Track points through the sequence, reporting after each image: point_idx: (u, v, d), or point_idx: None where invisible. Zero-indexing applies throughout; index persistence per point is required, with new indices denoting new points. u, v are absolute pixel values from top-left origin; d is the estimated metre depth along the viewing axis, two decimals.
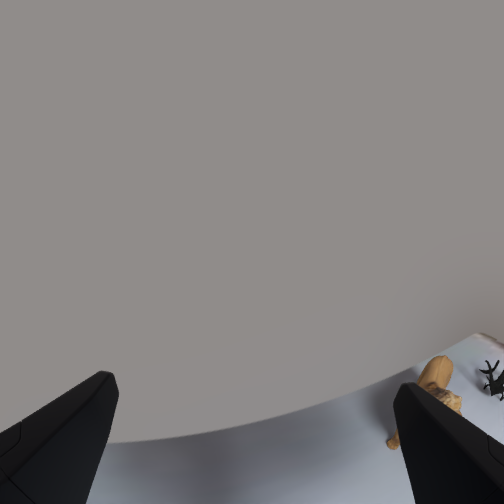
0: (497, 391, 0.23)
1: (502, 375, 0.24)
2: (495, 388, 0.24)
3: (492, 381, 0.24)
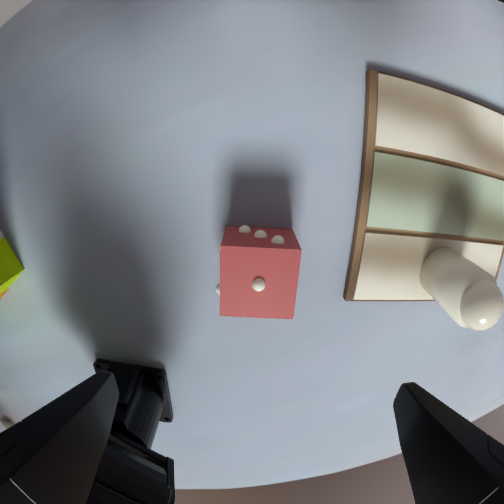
0: None
1: None
2: None
3: None
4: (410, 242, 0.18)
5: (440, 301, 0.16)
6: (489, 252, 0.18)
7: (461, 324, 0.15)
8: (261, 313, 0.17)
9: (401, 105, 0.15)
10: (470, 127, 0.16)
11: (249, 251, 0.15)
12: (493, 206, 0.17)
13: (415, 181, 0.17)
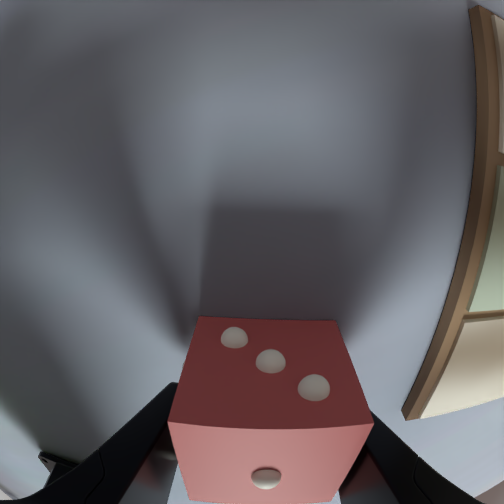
0: None
1: None
2: None
3: None
4: None
5: None
6: None
7: None
8: (270, 501, 0.06)
9: None
10: None
11: (243, 435, 0.05)
12: None
13: None
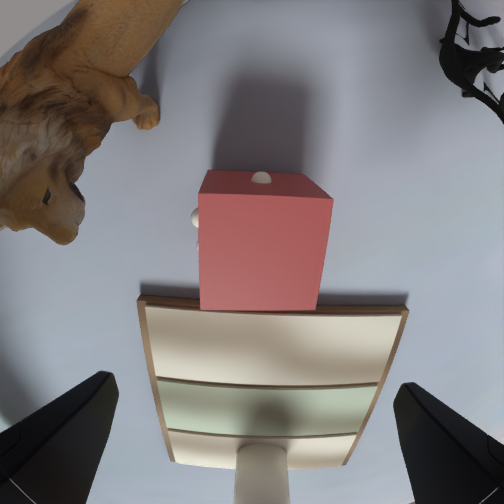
0: (451, 76, 0.09)
1: (482, 56, 0.08)
2: (450, 66, 0.09)
3: (449, 45, 0.08)
4: (217, 439, 0.18)
5: None
6: (332, 442, 0.18)
7: None
8: (274, 193, 0.09)
9: (178, 339, 0.15)
10: (292, 347, 0.15)
11: (243, 172, 0.12)
12: (335, 411, 0.17)
13: (209, 402, 0.17)
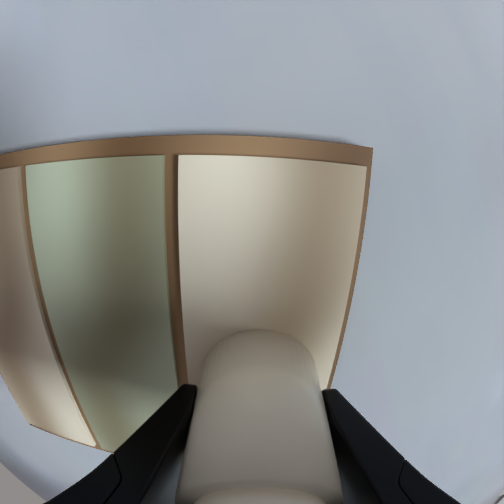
0: None
1: None
2: None
3: None
4: None
5: None
6: (204, 220, 0.08)
7: None
8: None
9: (39, 412, 0.11)
10: None
11: None
12: (83, 240, 0.08)
13: (111, 418, 0.10)
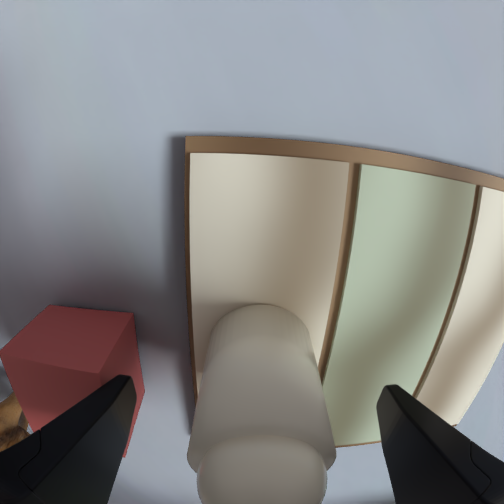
0: None
1: None
2: None
3: None
4: (424, 394, 0.12)
5: None
6: (487, 231, 0.09)
7: None
8: (18, 388, 0.08)
9: None
10: None
11: None
12: (410, 241, 0.09)
13: (347, 408, 0.12)
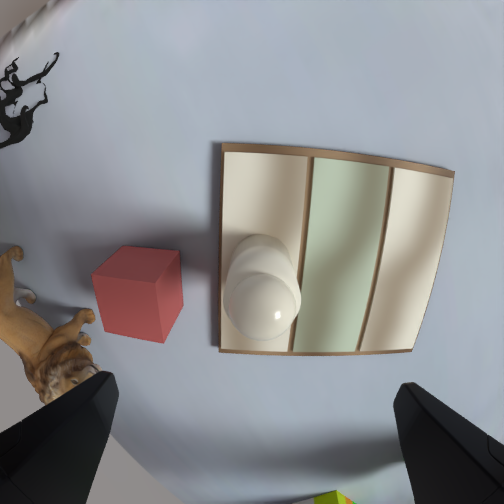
0: (26, 133, 0.15)
1: (3, 123, 0.13)
2: (20, 136, 0.15)
3: (8, 143, 0.14)
4: (375, 311, 0.20)
5: None
6: (401, 195, 0.17)
7: (294, 315, 0.14)
8: (99, 298, 0.16)
9: None
10: None
11: None
12: (346, 199, 0.17)
13: (319, 315, 0.20)
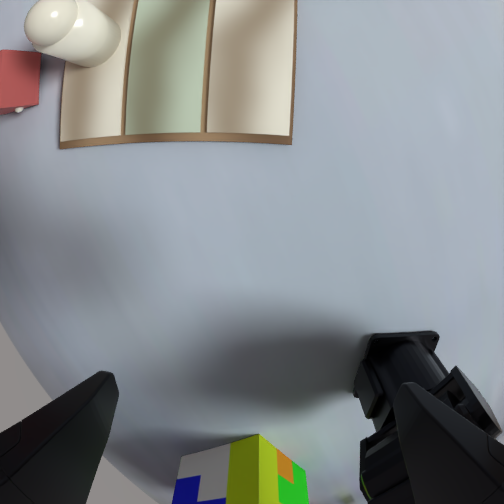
0: None
1: None
2: None
3: None
4: (216, 75, 0.15)
5: (82, 50, 0.12)
6: None
7: (78, 24, 0.10)
8: None
9: (82, 114, 0.16)
10: None
11: None
12: None
13: (149, 84, 0.15)
